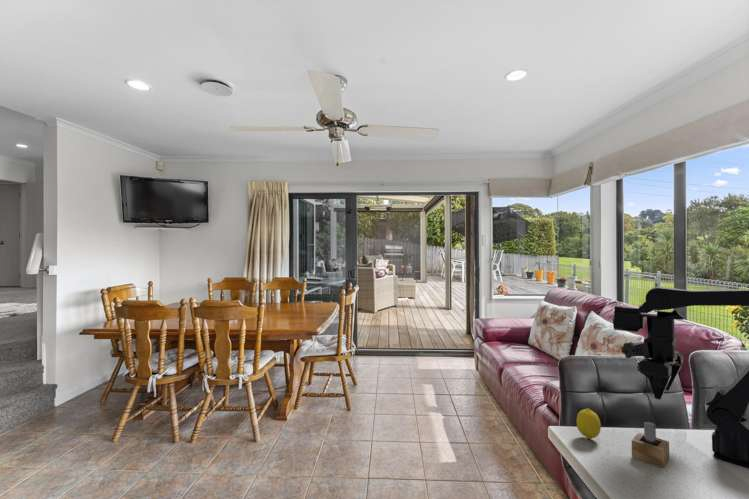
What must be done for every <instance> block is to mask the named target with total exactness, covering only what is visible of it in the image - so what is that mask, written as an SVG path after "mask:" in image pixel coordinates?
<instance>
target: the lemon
mask: <svg viewBox="0 0 749 499" xmlns="http://www.w3.org/2000/svg"><path fill="white" fill-rule="evenodd" d="M601 425H602V424H601V420H600V418H599V416H598V414H597V413H596V412H594V411H593V410H591V409H590V408H585V409H582V410H580V411H579V412H578V413H577V416H576V427H577V430H578V432H579V433H580V434H581V435H582V436H584V437H585V438H586V439H587V440H592V439H593V438H594V439H595V438H597V437H598V436H599V434H601V428H602V426H601Z"/></svg>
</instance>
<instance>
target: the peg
mask: <svg viewBox="0 0 749 499" xmlns="http://www.w3.org/2000/svg"><path fill="white" fill-rule="evenodd" d="M643 434H644V442H645V443H648V444H652V445H655V446H656V438H657V435H656V434H657V431H656V424H655V423H653V422H649V421H644V422H643Z"/></svg>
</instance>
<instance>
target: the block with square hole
mask: <svg viewBox="0 0 749 499" xmlns="http://www.w3.org/2000/svg"><path fill="white" fill-rule="evenodd" d="M631 458H633V459H636V460H640V461H642V462H645V463H648V464H651V465H653V466H657V467H659V468H662V469H664V468H665V466H666V465H667V464H668V462H669V460H670V441H669V440H664V439H662V438H658V437H656V446H655V445H652V444H648V443H645V442H644V432H643V433H642V432H637V434H636V435H635V436H634V437H633V438H632V439H631Z"/></svg>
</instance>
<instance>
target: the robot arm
mask: <svg viewBox="0 0 749 499" xmlns="http://www.w3.org/2000/svg"><path fill="white" fill-rule="evenodd" d="M692 306H695V307H696V306H698V307H699V306H703V307H705V306H708V307H713V306H714V307H719V306H720V307H722V306H724V307H728V306H730V307H733V306H734V307H735V306H736V307H741V306H742V307H744V306H745V307H749V289H700V290H699V289H698V290H697V289H695V290H692V289H691V290H690V289H682V288H676V287H667V286H655V287H652V288H650V289H649V290H648V291H647V292H646V294H645V301H644V302H643V303H640V304H639V306H638V307H628V306H622V305H615V306H614V313H613V318H612V325H613V330H614V331H621V332H632V333H640V331H641V330H644V329H645V318H646V337H645V338H643V341H640V342H632V341H629V342H624V343H623V345H622V346H620V347H621V353H622V354H624V356H625V358H626V359H631V358H634V357H641V356H643V359H642V360H640V361H639V362H638V363H637V371H638V372H640V374H641V375H644V376H645V377H646V378H647V379H648V381H649V385H650V387H651V390H652V393H653V396H654V399H656V400H662V398H663V395H664V393H665V391H667V392H668V391H670V389H671V387H672V385H673V383H674V382H675V380H676V378H677V376H678V374H679V372H680V370H681V368H682V366H683V364H684V362H685V361H684V355H683V354H682V353H681V352H680V351H677V350H676V344H677V341H678V340H677V338H675V336H676V335H675V320H681V321H683V320H684V315H682V314H681V313H680V312H679V311H678V310H677V309H680V308H686V307H692ZM655 310H657V311H656V312H657V313H651V312H653V311H655ZM666 310H672V311H666ZM676 362H677V363H676ZM704 400H705V402H704V408H705V415H706V417H707V419H708V420H709V422H711V423H712V425H715V428H714V431H712V434H711V450H712V452H714V453H713V457H714V458H716V459H719V460H722V461H726V462H729V463H731V464H735V465H738V466H741V467H745V468H747V469H748V468H749V420H748V419H746V418H745V414H746V411H747V409H748V408H749V407H748V406H749V365H748V366H747V367H746V368H744V370H743V371H742V372H741V373H740V374H739V375H738V376H737V378H736V379H734V380H733V382H731V384H729V385H728V386H726V387H724V388H721V387H719V386H718V385H716V384H715V385H714V386H713V388H712V390H711V392H709V393H708V394H706V395H704Z"/></svg>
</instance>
